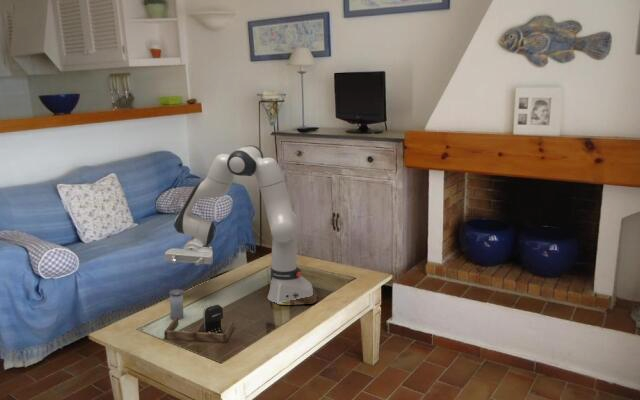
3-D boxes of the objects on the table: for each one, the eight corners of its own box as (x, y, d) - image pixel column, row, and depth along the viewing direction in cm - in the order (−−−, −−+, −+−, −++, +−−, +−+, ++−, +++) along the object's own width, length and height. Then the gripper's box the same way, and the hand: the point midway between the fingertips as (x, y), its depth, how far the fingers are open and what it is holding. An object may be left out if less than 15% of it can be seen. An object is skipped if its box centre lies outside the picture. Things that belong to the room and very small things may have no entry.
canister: (185, 314, 222) (185, 289, 220) (181, 320, 217) (180, 294, 214) (172, 314, 222) (171, 288, 220) (168, 319, 217) (167, 294, 215)
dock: (233, 327, 212) (233, 319, 211) (225, 342, 199) (225, 334, 199) (175, 323, 213) (175, 315, 213) (164, 339, 201) (164, 330, 200)
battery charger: (208, 339, 202) (208, 310, 200) (203, 335, 205) (202, 307, 202) (224, 333, 207) (224, 305, 204) (218, 330, 209) (218, 302, 207)
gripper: (169, 243, 238) (160, 253, 225) (215, 247, 239) (209, 257, 225) (169, 256, 240) (159, 267, 226) (215, 260, 240) (208, 271, 227)
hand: (185, 262), depth 226 cm, fingers open, 8 cm apart
